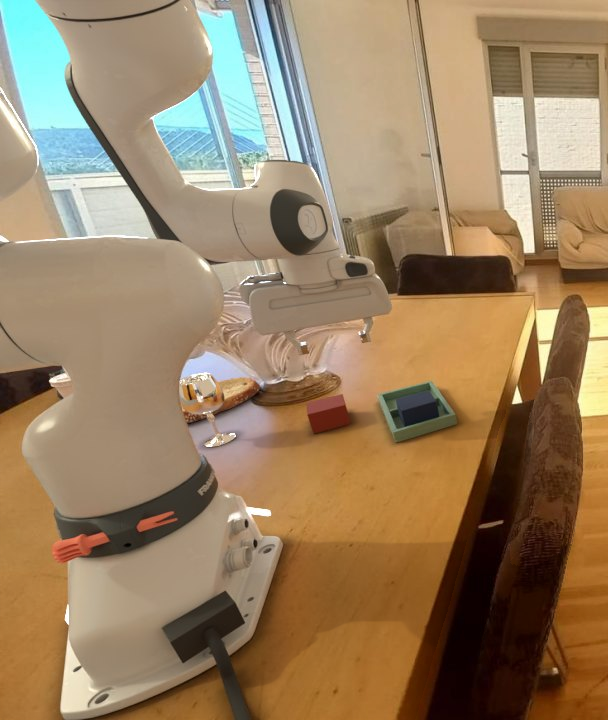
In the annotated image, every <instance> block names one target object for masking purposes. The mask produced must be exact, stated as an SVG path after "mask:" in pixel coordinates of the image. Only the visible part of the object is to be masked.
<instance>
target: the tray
mask: <svg viewBox="0 0 608 720" xmlns="http://www.w3.org/2000/svg"><path fill="white" fill-rule="evenodd" d="M428 390H429V391H430V392H431V394H432V395H433V397H434V398H436V397H438V398H439V403H440V405H437V406H438V411H439V416H440V417H438V418H434V419H431V420H427V421H424V422H421V423H417V424H414V425H410V426H407V427H404V425H403V423H402V421H401V419H400V416H397V417H394V418H392V416H391V414H390V410H391V409H395V408H397V404H396V399H398V398H402V397H406V396H409V395H413V394H417V393H421V392H424V391H428ZM376 396H377V399H378V403H379V406H380V408H381V411H382V413H383V416H384V418H385V420H386V421H385V422H386V423H387V426H388V428H389V430H390V433H391V436H392V438H393V440H394V443H396V444H397V443H400V442H403V441H406V440H409V439H413V438H417V437H420V436H423V435H426V434H429V433H434V432H436V431H439V430H442V429H443V430H444V429H446V428H450V427H452V426H455V425H458V421H457V416H456V413H455V412H454V410H453V409H452V407H451V406H450V405H449V403H448V402H447V400H446V398H445V397H444V396H443V394H442V393H441V391H440V390H439V388H438V387H437V386H436V384H435V383H434V381H433V380H429V381H424V382H421V383H417V384H413V385H409V386H405V387H401V388H397V389H394V390H389V391H385V392H382V393H377V394H376Z"/></svg>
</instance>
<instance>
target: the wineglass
mask: <svg viewBox="0 0 608 720" xmlns="http://www.w3.org/2000/svg"><path fill="white" fill-rule="evenodd" d="M218 382H219V381H218V380H217V379H216V378H215V377H214V376H213V374H212V373H208V372H204V373H197V374H196V373H195V374H192V375H189V376H185V377H183V378H180V386H179V395H180V402H181V406H182V407H183V409H184V410H185V411H187V412H189V413H191V414H207V418H206V419H207V421H208V422H209V423H210V424H211V426H212V428H213V430H214V432H215V433H214V436H212V437H210V438H208V439H206V441H204V443H203V445H204V446H205V447H207V448H214V447H219V446H223V445H226V444H228V443H229V442H232V441H233V440H234V439H236V438H237V437H236V436H237V434H236V433H234V432H224V433H221V432H220V431H219V429H218V427H217V424H216V417H215V415H213V414H211V412H213V411H215V410H217V409H218V408H220V407H221V406H222V404H223V403H224V399H225V398H224V392H223V390H222V388H221V386H220V385H219V383H218Z"/></svg>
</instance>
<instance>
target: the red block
mask: <svg viewBox="0 0 608 720" xmlns="http://www.w3.org/2000/svg"><path fill="white" fill-rule="evenodd" d="M305 407H306V415H307V418H308V421H309V424H310V428H311V430H312V433H313V434H314V435H315V434H318V433H319V434H320V433H322V432H326V431H329V430H333V429H336V428H340V427H344V426H348V425H351V424H352V423H351V418H350V414H349V411H348V408H347V405H346V401H345V398H344V394H343V393H341V394H337V395H332V396H329V397H325V398H320V399H317V400H312V401H307V402H306V403H305Z"/></svg>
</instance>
